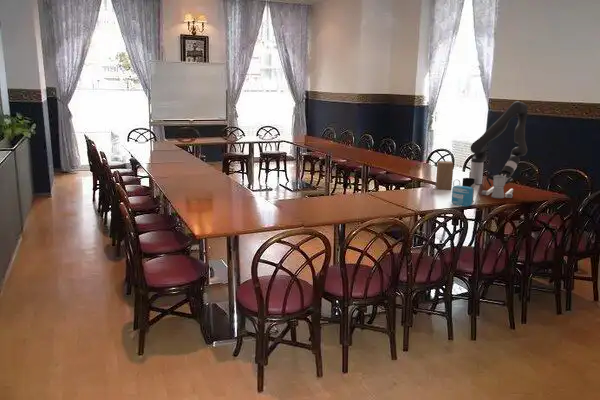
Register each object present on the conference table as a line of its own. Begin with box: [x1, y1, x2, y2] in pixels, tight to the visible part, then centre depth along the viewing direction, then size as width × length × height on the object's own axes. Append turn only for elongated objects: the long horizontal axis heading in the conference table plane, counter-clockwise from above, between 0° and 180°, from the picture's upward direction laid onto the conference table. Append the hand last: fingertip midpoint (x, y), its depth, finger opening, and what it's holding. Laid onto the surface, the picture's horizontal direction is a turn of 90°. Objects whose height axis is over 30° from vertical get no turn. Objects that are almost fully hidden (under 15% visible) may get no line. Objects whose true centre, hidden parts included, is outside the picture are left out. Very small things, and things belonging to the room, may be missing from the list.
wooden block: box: [435, 160, 454, 191], centre depth 367 cm, size 10×10×20 cm
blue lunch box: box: [452, 177, 476, 203], centre depth 329 cm, size 9×14×15 cm, turn 58°
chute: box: [481, 186, 514, 199], centre depth 353 cm, size 20×22×2 cm
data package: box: [450, 184, 474, 207], centre depth 316 cm, size 12×4×12 cm, turn 48°
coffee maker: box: [485, 170, 509, 199], centre depth 340 cm, size 15×9×18 cm, turn 63°
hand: (498, 187), depth 344 cm, fingers closed
